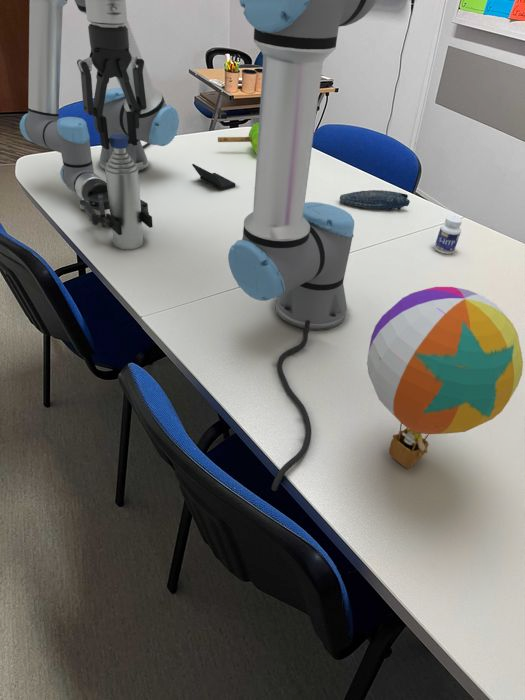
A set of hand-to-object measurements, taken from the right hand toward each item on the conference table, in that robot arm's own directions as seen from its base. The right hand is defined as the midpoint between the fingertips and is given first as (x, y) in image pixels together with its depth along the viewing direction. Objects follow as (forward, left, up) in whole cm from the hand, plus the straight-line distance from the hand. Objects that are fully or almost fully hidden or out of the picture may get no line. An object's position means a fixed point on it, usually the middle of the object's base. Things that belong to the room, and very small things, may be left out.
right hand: (119, 145), depth 116 cm
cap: (0, 0, +2) cm, 2 cm away
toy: (-56, -66, -24) cm, 90 cm away
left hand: (-3, -4, -17) cm, 18 cm away
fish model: (+44, -62, -24) cm, 80 cm away
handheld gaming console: (+45, -12, -24) cm, 52 cm away
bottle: (0, 0, -24) cm, 24 cm away
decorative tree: (+79, -21, -24) cm, 85 cm away
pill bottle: (+20, -81, -24) cm, 87 cm away
